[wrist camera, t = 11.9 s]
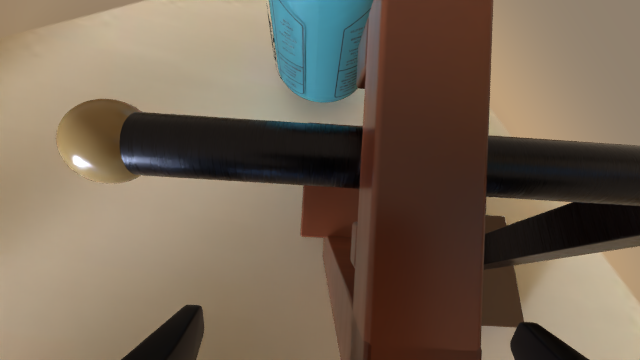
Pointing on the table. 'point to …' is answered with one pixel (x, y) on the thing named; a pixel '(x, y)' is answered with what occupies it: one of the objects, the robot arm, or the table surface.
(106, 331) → the table surface
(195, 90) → the table surface
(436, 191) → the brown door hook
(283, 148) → the rack
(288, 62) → the beverage bottle
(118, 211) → the table surface
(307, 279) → the table surface
